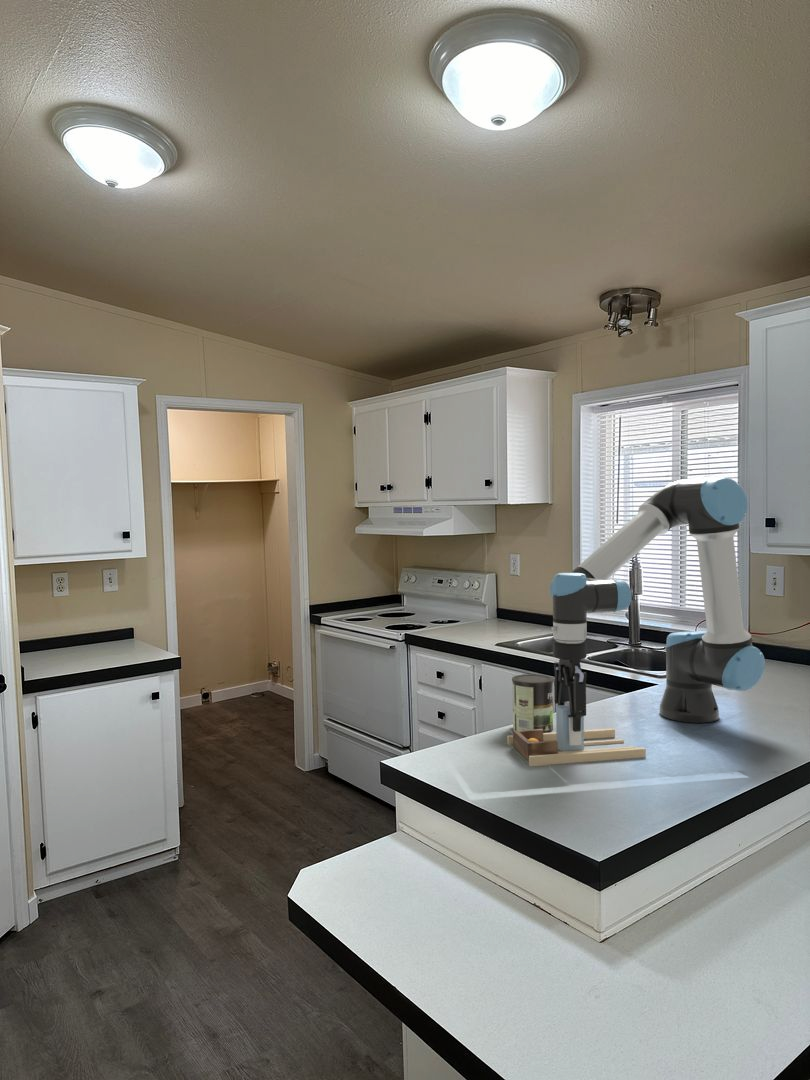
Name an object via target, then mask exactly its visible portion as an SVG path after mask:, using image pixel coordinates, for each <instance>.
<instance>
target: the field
mask: <svg viewBox="0 0 810 1080" xmlns="http://www.w3.org/2000/svg"><path fill="white" fill-rule="evenodd" d="M506 737H507V738H506V739H507V741H506V743H507V745H508V746H509V747H510V748H511V750H512V751H514V752H515V754H517V755H518V756H519V757H520V758H521V759H522V760H523V761H524V763H526V764H527V765H528V766H529V767H543V766H549V765H557V764H558V765H559V764H571V763H572V764H573V763H574V764H575V763H585V762H598V761H612V760H623V759H625V760H626V759H639V758H646V757H647V755H646V754H647V753H646V751H647V748H645V747H635V746H624V747H623V746H621V747H620V746H619V747H607V748H596V749H595V748H594V749H584V750H577V751H564V752H561V751H558V754H548V755H534V756H529V762H528V761H527V760H526V759H525V758H524V757H523V756H522V755H520V754H519V753H518V752H517V751H516V750H515V749H514V748H513V734H511V735H508V734H507V735H506ZM615 737H616V729H614V728H613V727H612V728H601V729H584V740H589V741H584V747H585V746H597V745H612V744H613V745H614V744H624V743H625V739H622V738H621V739H620V738H619V739H618V738H616V739H609V738H615ZM606 738H607V739H608V740H607V739H606ZM592 739H593V740H592ZM594 739H603V740H594ZM605 739H606V740H605ZM554 740H556V732H554V731H552V732H550V733H543V741H554ZM591 740H592V741H591Z"/></svg>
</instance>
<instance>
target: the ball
mask: <svg viewBox="0 0 810 1080" xmlns="http://www.w3.org/2000/svg"><path fill="white" fill-rule="evenodd" d="M528 740H529V741H530V742H539V741H538V740H537V739H535V738H530V739H528Z"/></svg>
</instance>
